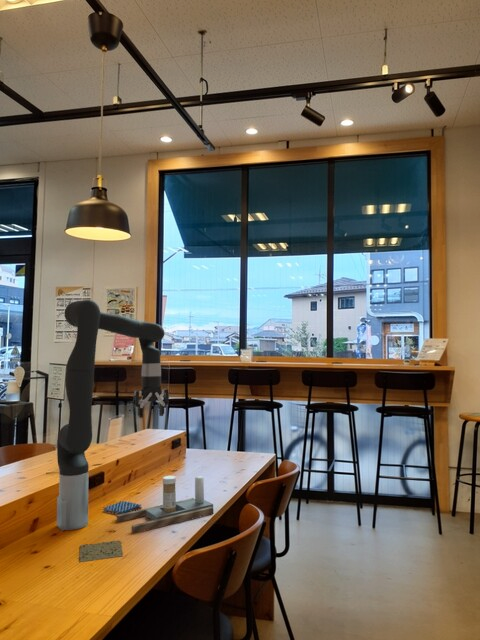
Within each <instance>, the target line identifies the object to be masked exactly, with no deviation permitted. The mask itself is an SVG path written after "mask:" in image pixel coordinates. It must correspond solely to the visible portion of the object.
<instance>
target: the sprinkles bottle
mask: <svg viewBox="0 0 480 640" xmlns="http://www.w3.org/2000/svg"><path fill="white" fill-rule="evenodd" d="M176 482H177V478H176V476H175V475H165V476H163V477H162V486H163V487H162V505H163V511H165V512H166V513H168V514H169V513H173V512H176V510H175V507H176V502H177V501H176V499H177V498H176V484H177V483H176Z"/></svg>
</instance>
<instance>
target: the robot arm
mask: <svg viewBox="0 0 480 640" xmlns="http://www.w3.org/2000/svg"><path fill="white" fill-rule="evenodd" d="M100 310H101V309H100V306H99V304H97V302H96V301H94V300H92V299H82V300H76V301H73V302H70V303H68V305H67V306H65V309H64V319H65V321H66V322H67V323H68V324H69V325H70V326H73V327H75V328H76V340H75V344H74V346H73V349H72V350H71V353H70V355H69V357H68V360H67V362H66V367H65V379H64V382H65V383H64V384H65V393H66V394H65V395H66V398H67V401H68V409H69V417H68V423H67V424H65V425H63V426H62V427H61V428H60V430H59V431H58V434H57V442H56V444H57V445H56V449H57V450H56V451H57V453H56V456H57V458H56V459H57V465H58V469H59V470H58V471H59V473H58V474H59V475H58V476H59V480H58V483H59V484H58V487H59V488H58V493H59V494H58V495H57V497H56V498H57V499H56V527H58V528H59V529H60V530H61V531H72V530H73V531H74V530H77V529H81V528H84V527H86V526H87V525H89V475H90V474H89V472H90V471H89V468H90V467H89V462H88V460H87V457H86V454H85V452H86V451H87V450H88V449H89V448H90V446H91V443H92V440H93V425H92V424H93V423H92V421H93V419H92V406H93V405H92V404H93V392H94V383H95V363H96V362H95V361H96V350H97V349H96V348H97V339H98V333H99V330H103V331H107V332H111V333H113V334H118V335H122V336H125V337H128V338H133V339H134V338H135V339H138V341H139V342H138V343H139V346H140V349H141V353H142V355H141V356H142V359H141V360H142V363H141V364H142V365H141V373H140V375H141V389H140V390H134V391H133V398H132V399H133V400H132V406H133V407H134V408H135V407H136V408H137V416H138V417H139V418H140V419H143V418H144V406H145V405H146V404H147V402H156V403H157V404H158V405H159V407H158V415H159V416H160V417H163V416H164V414H165V406H166V405H169V404H170V397H169V394H170V393H169V389H168V388H164V389H162V366H161V350H160V349H158V348H156V347H155V344H154V343H158V342H161V341H162V340H163V339H164V337H165V330H164V328H163V327H162V326H161V325H160V324H158V323H154V322H150V321H149V322H148V321H142V320H138V319H136V318H133V317H128V316H126V315H119V314H113V313H107V312H103V311H100ZM161 395H162V397H163V398H162V397H161ZM140 397H141V399H140Z"/></svg>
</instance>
